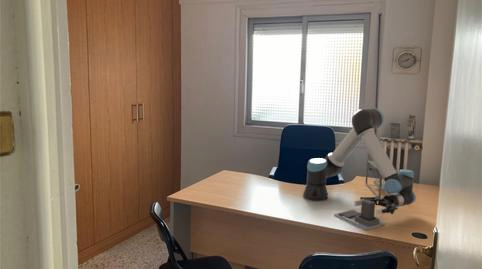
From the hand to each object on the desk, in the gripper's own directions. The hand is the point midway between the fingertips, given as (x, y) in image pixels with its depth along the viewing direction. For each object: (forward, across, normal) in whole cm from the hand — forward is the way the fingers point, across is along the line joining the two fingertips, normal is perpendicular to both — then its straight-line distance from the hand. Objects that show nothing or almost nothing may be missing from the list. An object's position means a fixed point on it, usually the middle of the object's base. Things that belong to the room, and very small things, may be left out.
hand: (365, 207), depth 186 cm
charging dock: (-2, +6, -9) cm, 11 cm away
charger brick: (-2, 0, -8) cm, 8 cm away
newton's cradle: (-52, +32, -9) cm, 62 cm away
